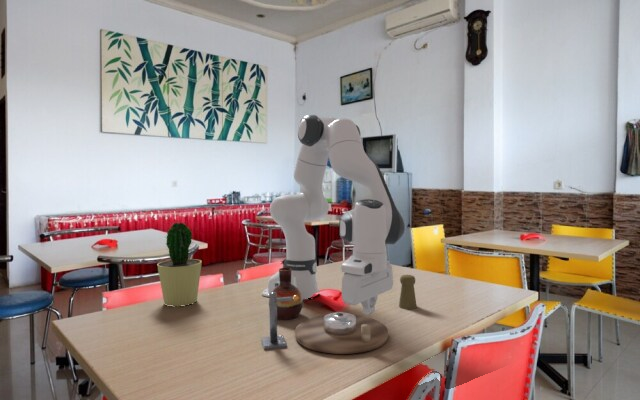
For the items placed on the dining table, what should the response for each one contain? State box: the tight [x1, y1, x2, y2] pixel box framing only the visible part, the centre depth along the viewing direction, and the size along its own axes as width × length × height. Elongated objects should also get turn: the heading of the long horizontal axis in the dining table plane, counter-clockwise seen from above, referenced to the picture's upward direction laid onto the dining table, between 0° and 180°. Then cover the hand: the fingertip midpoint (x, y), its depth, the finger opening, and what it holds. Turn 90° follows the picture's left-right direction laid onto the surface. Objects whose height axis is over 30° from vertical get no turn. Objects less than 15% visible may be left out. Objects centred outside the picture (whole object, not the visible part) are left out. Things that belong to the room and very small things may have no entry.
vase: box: [272, 267, 304, 320], centre depth 133 cm, size 11×11×15 cm
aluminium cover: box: [323, 311, 356, 336], centre depth 114 cm, size 9×9×4 cm
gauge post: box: [260, 292, 299, 351], centre depth 110 cm, size 10×6×14 cm, turn 105°
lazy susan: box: [294, 314, 389, 355], centre depth 115 cm, size 26×26×6 cm
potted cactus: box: [156, 221, 202, 306], centre depth 148 cm, size 15×15×30 cm
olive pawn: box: [398, 274, 418, 310], centre depth 141 cm, size 6×6×11 cm
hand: (369, 313), depth 108 cm, fingers closed
